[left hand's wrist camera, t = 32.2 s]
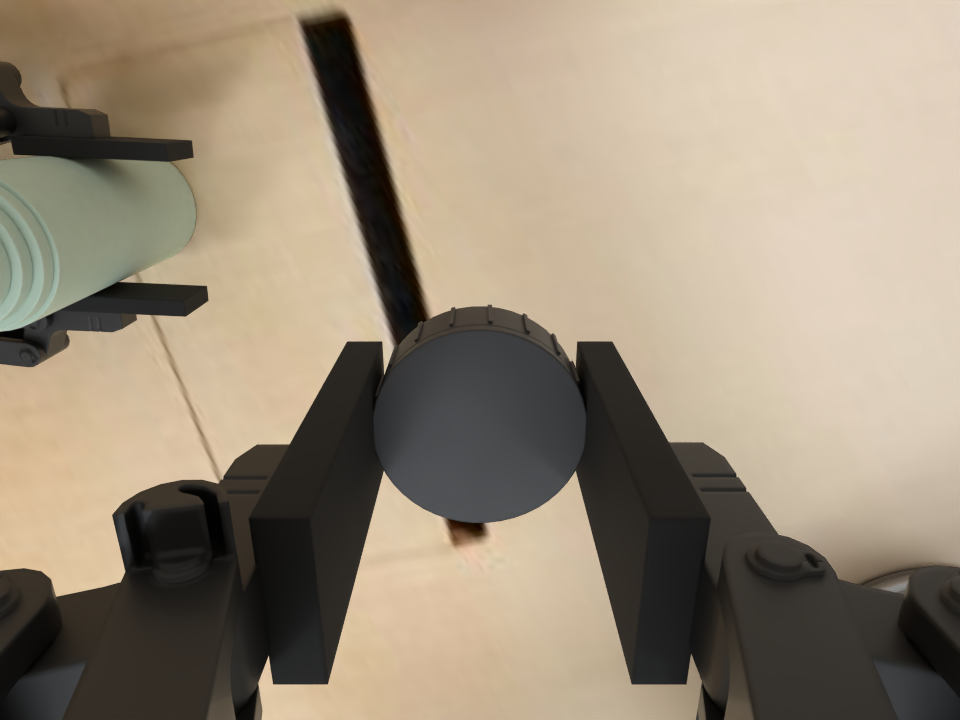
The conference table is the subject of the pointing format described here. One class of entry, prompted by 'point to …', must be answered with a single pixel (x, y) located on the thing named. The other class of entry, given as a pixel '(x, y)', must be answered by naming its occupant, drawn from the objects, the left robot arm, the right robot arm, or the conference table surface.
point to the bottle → (83, 228)
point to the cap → (479, 415)
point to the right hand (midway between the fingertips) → (187, 228)
